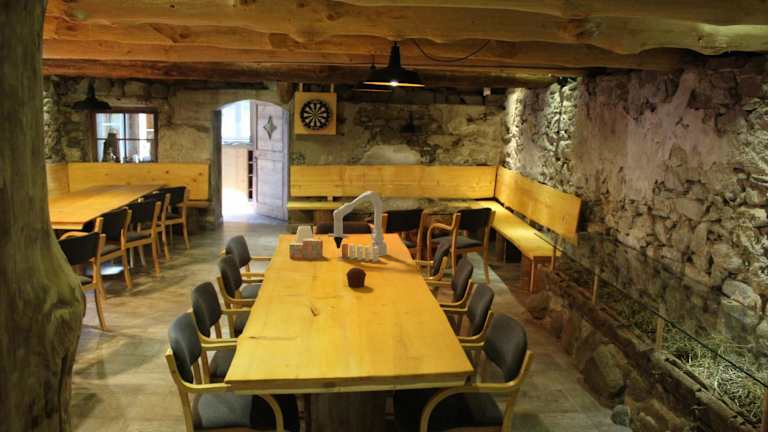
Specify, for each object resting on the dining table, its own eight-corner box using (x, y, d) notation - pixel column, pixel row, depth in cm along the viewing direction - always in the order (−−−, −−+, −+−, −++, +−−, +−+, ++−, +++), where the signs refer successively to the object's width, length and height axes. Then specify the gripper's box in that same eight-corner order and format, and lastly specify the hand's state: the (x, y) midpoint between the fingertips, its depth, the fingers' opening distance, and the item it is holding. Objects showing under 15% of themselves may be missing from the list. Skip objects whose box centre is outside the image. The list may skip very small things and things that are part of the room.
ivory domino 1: (355, 257, 403) (355, 244, 401) (352, 259, 398) (352, 245, 397) (352, 257, 403) (352, 244, 402) (349, 258, 399) (349, 245, 397)
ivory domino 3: (370, 259, 398) (370, 245, 397) (367, 260, 394) (367, 247, 392) (367, 258, 399) (367, 245, 398) (364, 260, 395) (364, 247, 393)
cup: (317, 246, 440) (317, 227, 437) (300, 248, 432) (300, 229, 430) (308, 242, 451) (308, 224, 448) (292, 245, 443) (291, 226, 441)
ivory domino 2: (363, 258, 401) (363, 245, 399) (359, 260, 396) (359, 246, 394) (360, 258, 401) (360, 244, 400) (357, 259, 397) (356, 246, 395)
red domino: (347, 256, 405) (347, 243, 403) (344, 258, 400) (344, 245, 399) (345, 256, 406) (345, 243, 404) (341, 258, 401) (341, 244, 399)
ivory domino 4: (378, 260, 396) (378, 246, 395) (375, 261, 392) (375, 248, 390) (375, 259, 397) (375, 246, 396) (372, 261, 393) (372, 247, 391)
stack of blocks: (289, 258, 403) (288, 240, 401) (291, 256, 409) (291, 238, 407) (321, 259, 402) (321, 240, 400) (322, 256, 408) (322, 238, 406)
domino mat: (380, 260, 397) (380, 259, 397) (375, 263, 390) (375, 262, 390) (342, 256, 408) (342, 255, 408) (336, 259, 401) (336, 258, 401)
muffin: (368, 288, 335) (368, 270, 333) (349, 289, 332) (348, 271, 330) (363, 282, 346) (363, 265, 344) (344, 283, 343) (344, 266, 341)
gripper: (325, 228, 401) (325, 248, 403) (345, 229, 395) (345, 250, 397) (330, 226, 407) (330, 246, 409) (350, 228, 401) (350, 248, 404)
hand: (338, 248), depth 404 cm, fingers closed
